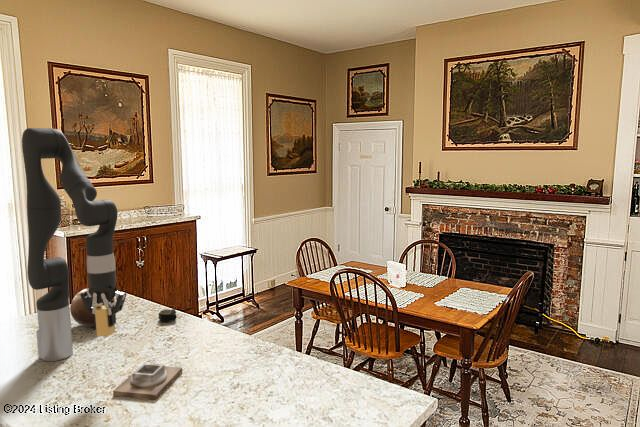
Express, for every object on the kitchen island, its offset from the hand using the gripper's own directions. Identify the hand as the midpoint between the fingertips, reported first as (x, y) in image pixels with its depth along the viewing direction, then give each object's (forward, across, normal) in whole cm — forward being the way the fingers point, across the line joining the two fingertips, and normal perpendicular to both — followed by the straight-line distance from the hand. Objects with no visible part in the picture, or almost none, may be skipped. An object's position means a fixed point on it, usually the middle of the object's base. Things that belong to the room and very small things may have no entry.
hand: (105, 325), depth 135 cm
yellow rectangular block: (+3, 0, 0) cm, 3 cm away
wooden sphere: (+17, -32, +38) cm, 53 cm away
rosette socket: (+17, +13, 0) cm, 22 cm away
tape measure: (+18, -6, +48) cm, 52 cm away
